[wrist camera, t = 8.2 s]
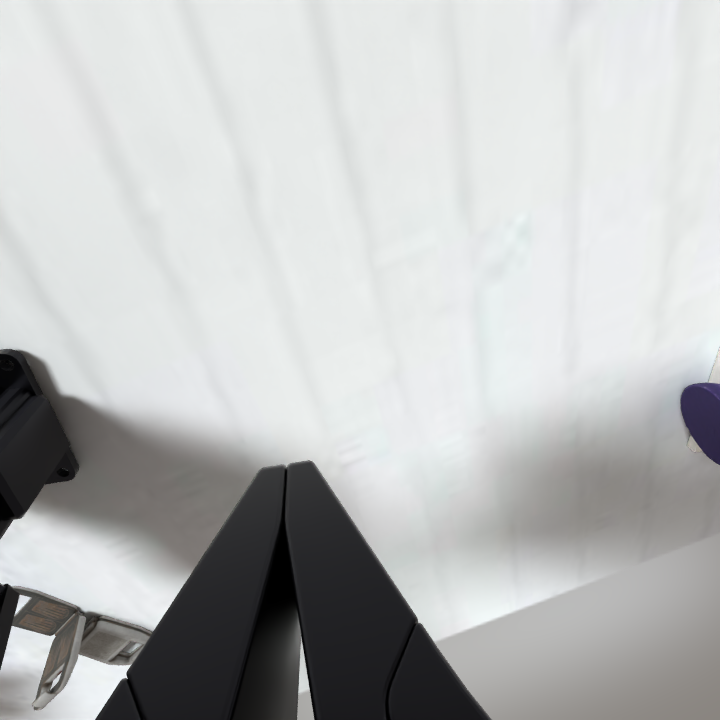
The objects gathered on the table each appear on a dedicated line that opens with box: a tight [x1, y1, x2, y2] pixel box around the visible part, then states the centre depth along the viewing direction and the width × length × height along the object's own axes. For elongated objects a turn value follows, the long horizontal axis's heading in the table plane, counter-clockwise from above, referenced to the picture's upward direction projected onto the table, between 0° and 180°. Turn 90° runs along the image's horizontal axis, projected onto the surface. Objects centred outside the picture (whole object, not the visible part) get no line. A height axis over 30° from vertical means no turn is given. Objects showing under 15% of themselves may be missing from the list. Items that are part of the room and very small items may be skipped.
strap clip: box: [11, 586, 153, 710], centre depth 24 cm, size 8×3×4 cm, turn 47°
